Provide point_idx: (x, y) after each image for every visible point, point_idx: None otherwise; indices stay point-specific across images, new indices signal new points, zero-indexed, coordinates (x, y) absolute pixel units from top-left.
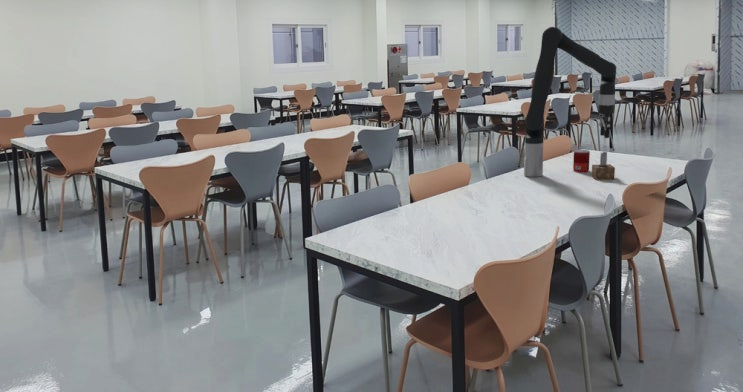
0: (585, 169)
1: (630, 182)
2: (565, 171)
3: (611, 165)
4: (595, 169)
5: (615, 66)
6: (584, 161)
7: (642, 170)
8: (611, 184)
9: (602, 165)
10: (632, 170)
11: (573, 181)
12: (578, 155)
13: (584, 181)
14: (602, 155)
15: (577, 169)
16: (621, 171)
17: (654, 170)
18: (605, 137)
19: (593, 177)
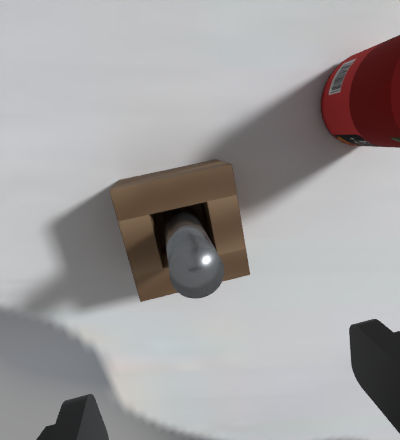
0: (330, 125)
1: (89, 339)
2: (346, 4)
3: None
4: (125, 185)
5: None
6: (358, 113)
7: None
8: (13, 260)
9: (166, 232)
10: None
11: (42, 49)
12: (395, 58)
13: (59, 118)
14: (170, 254)
15: (333, 76)
16: (345, 296)
17: (365, 412)
18: (69, 412)
19: (169, 169)
